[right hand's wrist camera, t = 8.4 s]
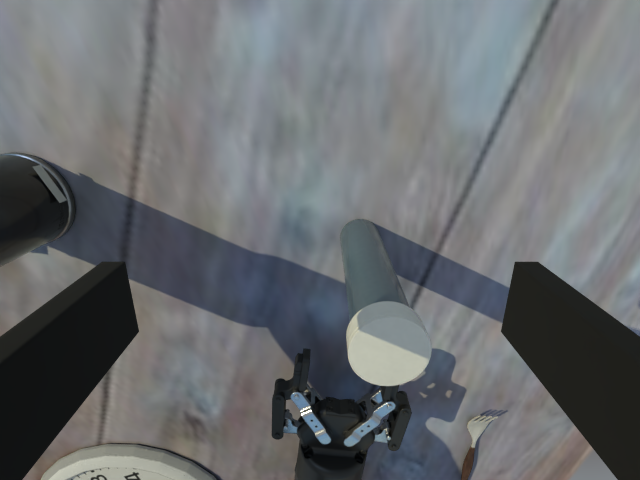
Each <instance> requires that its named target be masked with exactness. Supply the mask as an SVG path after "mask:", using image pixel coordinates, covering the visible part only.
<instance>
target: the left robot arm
mask: <svg viewBox="0 0 640 480" xmlns="http://www.w3.org/2000/svg"><path fill="white" fill-rule="evenodd" d="M74 217H75V201H74V197H73V194H72V192H71V189H70V187H69V186H68V184H67V182H66V181H65V179H64V178H63V177H62V176H61V174H60V173H59V172H58V171H57V170H56V169H54V168H53V167H52V166H51V165H49V164H48V163H46V162H45V161H43V160H41V159H39V158H37V157H35V156H32V155H28V154H24V153H6V154H1V155H0V267H1V266H3V265H5V264H7V263H9V262H11V261H13V260H15V259H17V258H19V257H21V256H23V255H24V254H26V253H28V252H30V251H32V250H34V249H36V248H38V247H40V246H42V245H44V244H46V243H49V242H52V241H54V240H56V239H58V238H60V237H61V236H63V235H64V234H65V233H66V232H67V231H68V230H69V229H70V227H71V225H72V223H73V221H74ZM309 363H310V349H304V350H303V354H300V353H298V354H297V356H296V359H295V367H294V376H293V378H292V379H290V380H288V381H285V380H284V379H277V380H276V382H275V390H274V395H273V399H272V437H273V438H274V439H281V438H282V437H283V433H296V434H297V435H298V437H299V438H300V443H299V450H298V457H297V463H296V467H295V479H294V480H361V478H362V473H363V469H364V465H365V460H366V456H367V451H368V448H369V447H370V445H372V444H373V442H374V441H377V442H384V443H388V448H389V449H390V450H391V451H396V450H398V449H399V447H400V445H401V442H402V439H403V436H404V433H405V431H406V428H407V425H408V422H409V419H410V416H411V414H412V412H411V408H410V405H409V401H408V398H407V394H406V393H405V392H404V391H399V392H397V391H398V387H399V385H395V386H380V388H379V389H377V390H376V391H375V392H374V393H372V394H369V393H368V394H366V395H365V396H363V397H362V398H361V399H359V400H358V401H357V402H354V400H352V399H343V400H339V399H336V398H332V397H326V399H323V400H322V399H321V398H320V396H319V395H318V394H317V392H316V391H315V390H314V388H310V387H309V385H308V384H307V378H308V371H309ZM289 399H292V401H293V402H294V403H295V404H296V406H297V407H298V408H299V410H300V412H301V417H300V418H299V419H298V420H295V419H293V417H292V414H291V413H290V410H289V409H286V400H289ZM382 401H383V402H382ZM365 410H367V415H366V413H365V412H364V411H365ZM388 413H390V414H389V417H388V420H387V419H384V420H383V422H384V423H382V424H381V426H380V427H378V428H375V427H377V426H378V425H379V424H380V422H381V419H382V418H383V417H384V416H386V415H387V414H388Z"/></svg>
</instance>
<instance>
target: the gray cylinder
mask: <svg viewBox="0 0 640 480" xmlns="http://www.w3.org/2000/svg"><path fill="white" fill-rule="evenodd" d="M340 242H341V250H342V259H343V267H344V276H345V284H346V293H347V301H348V309H349V318H350V321H351V319H352V318H353V317H354V316H355V314H356V313H357V312H359V311H360V310H361V309H363V308H364V307H366V306H368V305H370V304H373V303H377V302H383V301H392V302H398V303H401V304H404V305H406V306H408V307H410V306H409V304H408V301H407V299H406V297H405V294H404V292H403V289H402V287H401V285H400V282H399V280H398V277H397V275H396V272H395V270H394V268H393V265H392V263H391V260H390V258H389V256H388V253H387V251H386V248H385V246H384V244H383V241H382V239H381V236H380V234H379V231H378V229H377V228H376V226H375V225H374V224H373V223H371V222H370V221H367V220H364V219H357V220H353V221H351V222H349V223H348V224H347V225H346V226H345V227H344V228H343V230H342V232H341V235H340Z"/></svg>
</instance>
